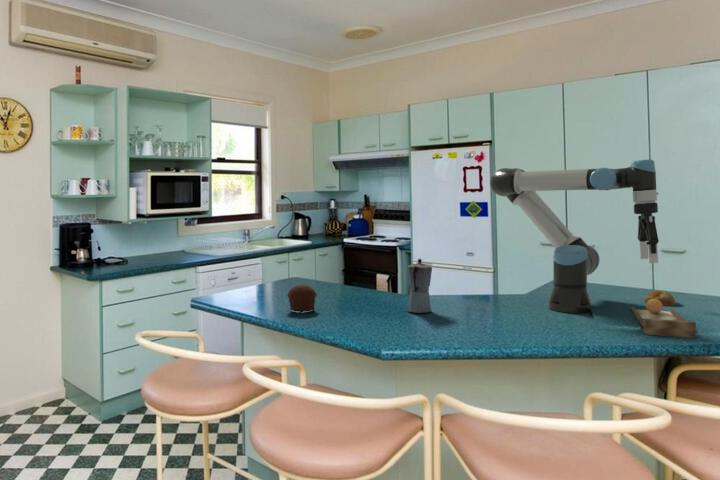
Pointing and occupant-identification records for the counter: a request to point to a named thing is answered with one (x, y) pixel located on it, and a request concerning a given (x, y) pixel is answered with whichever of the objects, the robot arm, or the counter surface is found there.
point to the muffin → (302, 298)
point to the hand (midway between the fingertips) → (648, 260)
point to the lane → (664, 323)
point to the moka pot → (419, 287)
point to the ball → (654, 306)
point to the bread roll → (661, 297)
